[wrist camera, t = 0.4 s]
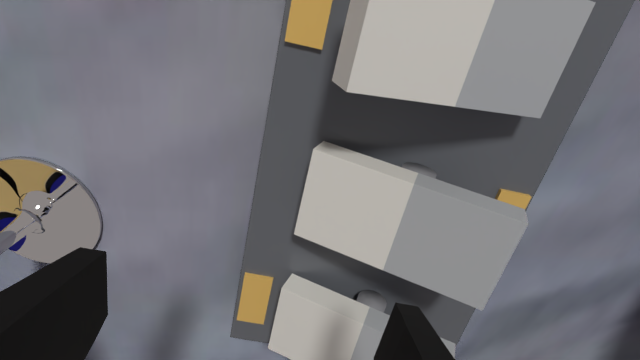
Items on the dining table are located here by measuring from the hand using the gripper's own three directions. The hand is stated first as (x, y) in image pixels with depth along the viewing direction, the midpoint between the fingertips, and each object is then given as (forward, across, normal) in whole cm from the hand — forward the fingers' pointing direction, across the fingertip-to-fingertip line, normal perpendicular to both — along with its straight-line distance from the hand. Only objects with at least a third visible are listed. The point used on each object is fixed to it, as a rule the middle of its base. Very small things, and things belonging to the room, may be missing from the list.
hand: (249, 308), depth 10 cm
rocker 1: (+8, -4, -7) cm, 11 cm away
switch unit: (+10, -5, 0) cm, 12 cm away
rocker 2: (+8, -6, 0) cm, 10 cm away
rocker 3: (+8, -6, +7) cm, 12 cm away
